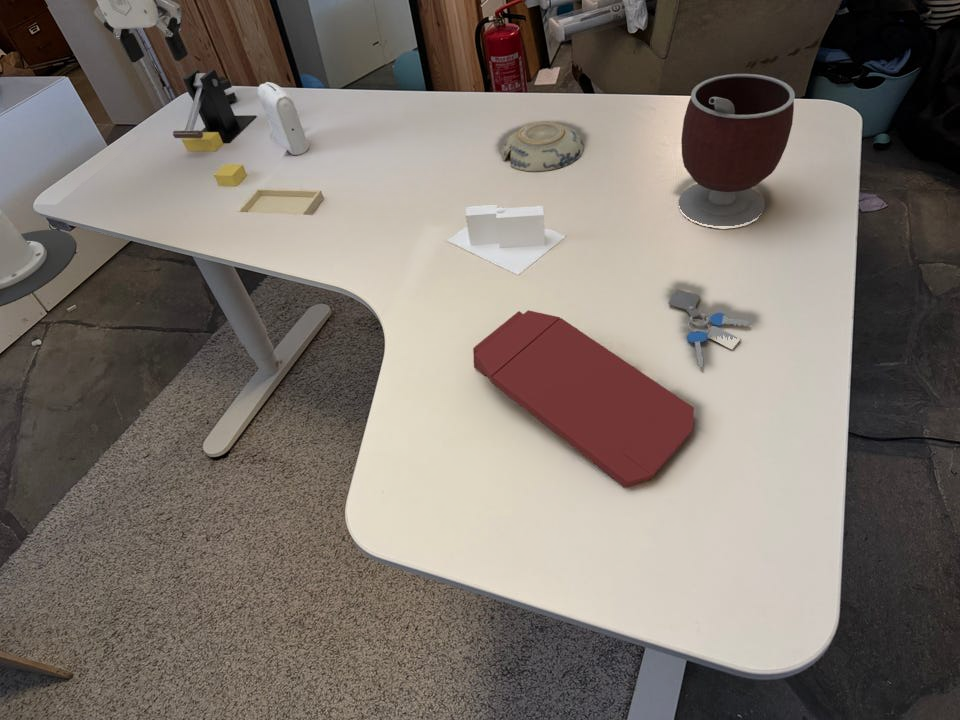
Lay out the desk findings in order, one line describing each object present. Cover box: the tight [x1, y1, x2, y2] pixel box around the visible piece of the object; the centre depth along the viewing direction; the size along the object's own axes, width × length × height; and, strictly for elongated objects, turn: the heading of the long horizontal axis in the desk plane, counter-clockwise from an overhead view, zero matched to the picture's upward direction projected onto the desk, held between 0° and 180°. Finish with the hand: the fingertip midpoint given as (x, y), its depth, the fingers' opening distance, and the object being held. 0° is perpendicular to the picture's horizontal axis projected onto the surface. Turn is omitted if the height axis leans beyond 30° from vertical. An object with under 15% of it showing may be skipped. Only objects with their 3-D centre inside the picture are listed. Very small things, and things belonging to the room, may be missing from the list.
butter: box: [181, 132, 224, 152], centre depth 126 cm, size 3×7×4 cm, turn 76°
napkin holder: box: [446, 204, 567, 276], centre depth 91 cm, size 15×11×6 cm
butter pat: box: [213, 163, 248, 187], centre depth 114 cm, size 4×4×3 cm
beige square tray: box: [236, 188, 324, 216], centre depth 105 cm, size 13×13×2 cm
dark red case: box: [472, 309, 695, 488], centre depth 69 cm, size 12×5×25 cm
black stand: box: [182, 69, 258, 144], centre depth 127 cm, size 12×10×13 cm
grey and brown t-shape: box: [172, 72, 207, 139], centre depth 123 cm, size 14×6×2 cm, turn 166°
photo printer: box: [257, 81, 309, 156], centre depth 119 cm, size 10×4×12 cm, turn 37°
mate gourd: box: [678, 73, 796, 226], centre depth 84 cm, size 16×14×20 cm
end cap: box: [186, 76, 238, 103], centre depth 140 cm, size 10×7×7 cm
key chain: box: [667, 289, 751, 369], centre depth 75 cm, size 14×8×1 cm, turn 5°
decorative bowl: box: [500, 120, 585, 173], centre depth 109 cm, size 15×4×15 cm
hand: (159, 58), depth 109 cm, fingers open, 9 cm apart
